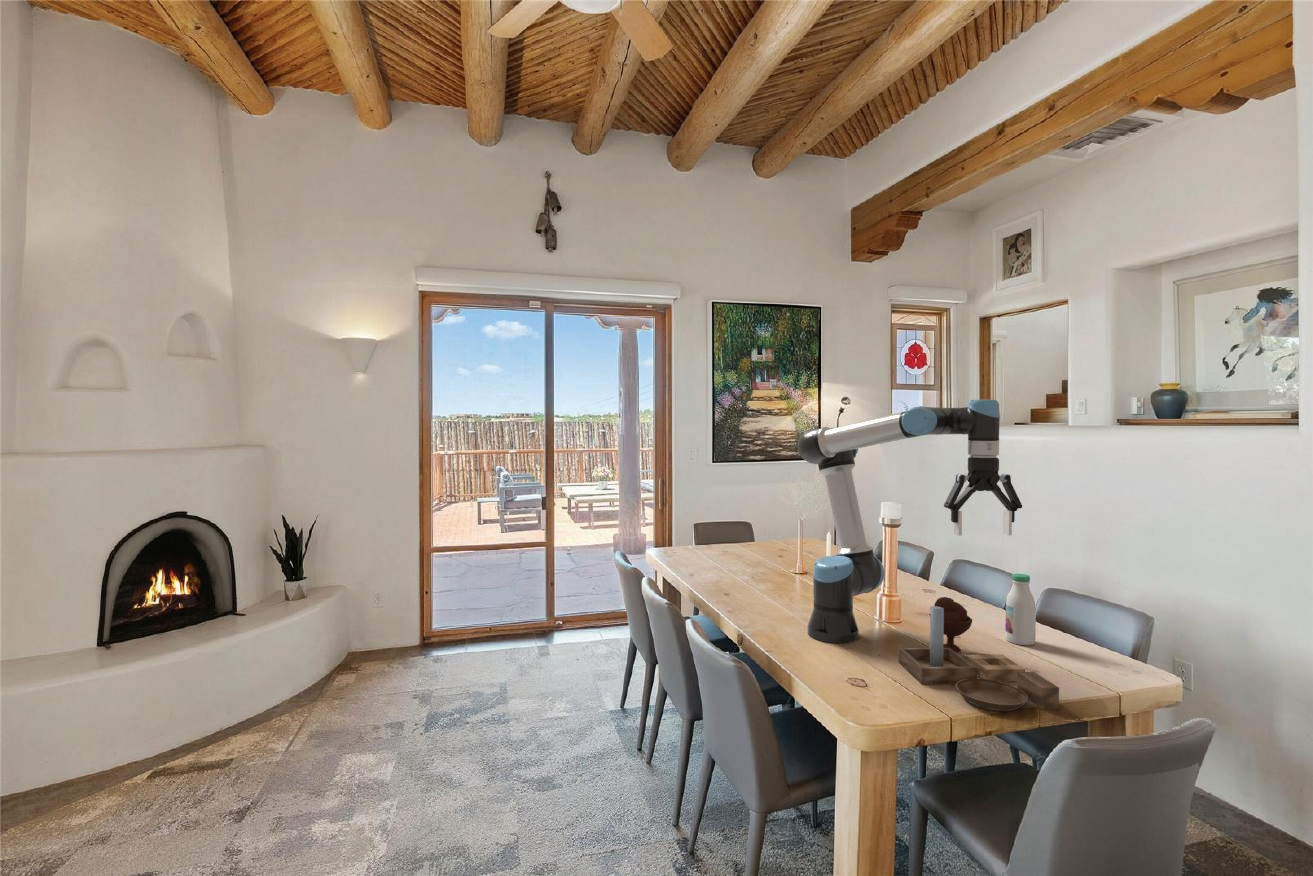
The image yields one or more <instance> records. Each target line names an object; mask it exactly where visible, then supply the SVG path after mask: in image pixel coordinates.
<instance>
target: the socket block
mask: <svg viewBox="0 0 1313 876" xmlns="http://www.w3.org/2000/svg"><path fill="white" fill-rule="evenodd" d="M964 659H966V660H967V661H969V662H970V663H971V664H973V665H974V666H975V667H977V668H978V672H977V677H980V679H987V680H994V681H998V682H1017V672H1026V668H1024V667H1023V666H1021V665H1019V664H1018V663H1017V662H1015V661H1014V660H1012V659H1010V658H1009V657H1007V656H1005V655H1004V654H965V656H964Z"/></svg>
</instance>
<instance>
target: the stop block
mask: <svg viewBox="0 0 1313 876" xmlns="http://www.w3.org/2000/svg"><path fill="white" fill-rule="evenodd" d="M1016 683H1017V684H1016V685H1017V687H1016V688H1018V689H1020V690H1022V691H1023V692H1024V693H1025V694H1026V695H1027V697H1028V700H1027V701H1029V702H1030V703H1032V704H1033V705H1034V706H1036V707H1037V708H1039V709H1040V711H1041V710H1059V709H1060V707H1059V706H1060V687H1058V686H1057V685H1056V684H1054V683H1053V682H1051V681H1049V680H1048V679H1046V678H1045V677H1043V676H1042V675H1040V674H1039V673H1037V672H1035V671H1025V672H1017V681H1016Z"/></svg>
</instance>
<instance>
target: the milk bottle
mask: <svg viewBox="0 0 1313 876" xmlns="http://www.w3.org/2000/svg"><path fill="white" fill-rule="evenodd" d="M1030 581H1031V577H1030V575H1028V574H1024V573H1018V572H1017V573H1013V574H1011V582H1012V584H1011V585H1012V586H1011V588H1010V591H1009V592H1008V594H1007V597H1006V600H1005V601H1006V602H1005V631H1004V633H1005V640H1006V641H1008V642H1009V643H1011V644H1014V645H1019V646H1033V645H1035V644H1036V630H1037V626H1036V623H1037V620H1036V619H1037V617H1036V616H1037V615H1036V612H1037V611H1036V610H1037V609H1036V608H1037V607H1036V601H1035V598H1034V596H1033V594H1032V591H1031V589H1030V583H1031V582H1030Z"/></svg>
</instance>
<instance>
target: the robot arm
mask: <svg viewBox="0 0 1313 876" xmlns="http://www.w3.org/2000/svg"><path fill="white" fill-rule="evenodd" d="M1000 418H1001V415H1000V403H999V402H998V400H996V399H970V400H969V401H968V405H967V406H966V407H965V406H964V407H931V406H919V405H918V406H915V407H910V408H908V409H907V410H905V411H901V412H896V413H893V414H888V415H887V414H886V415H884V416H880V417H876V418H872V419H866V420H863V421H858V422H854V423H850V424H846V425H842V426H839V427H838V426H837V427H833V428H832V427H831V428H830V427H829V426H823V427H819V428H817V427H815V428H811V429H808V430H806V431H804V432H803V433H802V434H801V435H800V437H799V439H798V441H797V442H798V443H797V449H798V454H799V455H800V456H801V458H802V459H803V460H804V461H806V462H807V463H809V464H813V465H817V467H818V471H819V473H821V474H822V475H823V476H824V477H825V482H826V487H827V492H828V498H829V503H830V507H831V512H832V518H833V523H834V528H835V533H836V539H837V542H838V550H837V551H836V553H835V555H831V556H830V555H826V556H823V557H820V558H817V560H815V562H814V564H813V572H812V576H813V577H812V578H813V609H812V612H811V615H810V618H809V620H808V622H807V623H808V624H807V635H808V636H810V637H811V638H812V639H815V640H818V641H821V642H825V643H833V644H834V643H835V644H845V643H852V642H855V641H857V640H858V639H859V638H860V637H859V636H860V632H859V630H860V629H859V625H858V623H857V620H856V617H855V614H854V609H853V607H854V597H855V596H856V597H857V596H859V595H864V594H869V593H871V592H873V591H874V590H875V591H876V589H878V588H879V587H881V585H882V584H883V581H884V577H885V568H884V565H883V563H882V560H880V559H878V557H877V556H876V555H875V554H874V549H873V548H872V547H871V546H870V545H868V543H867V541H866V535H865V530H864V526H863V521H862V516H861V511H860V506H859V501H858V496H857V491H856V486H855V482H854V476H853V469H854V467H855V466H856V463H855V458H856V457H857V454H858V452H859V449H862V448H867V447H872V446H876V445H881V444H882V445H883V444H885V443H886V444H887V443H891V442H896V441H901V440H905V439H911V438H918V437H922V436H930V435H931V436H933V435H934V436H935V435H937V436H938V435H967V455H968V458H967V471H968V472H967V474H966V475H965V474H961V473H958V474H956V475H955V482H954V484H953V486H952V487H951V489H950V492H949V494H948V496H947V498H946V500H945V502H944V504H943V507H944V508H946V509H948V510H950V517H951V518H950V521H951V523H953V534H954V535H956V536H961V537H962V533H963V523H962V522H963V511H961V508H962V507H963V506H964V505H965V503H966V502H968V499H970V498H971V496H972V495H973V494H974V493H976V492H977V491H978V492H991V493H993V495H994V496H995V497H996V498H997V500H998V501H1000V503H1001V504H1002V505H1003V507H1005V508H1006V509H1003V511H1002V512H1003V513H1002V535H1006V536H1012V529H1013V528H1012V524H1013V523H1015V518H1016V517H1015V515H1016V514H1015V512H1017V511H1018V510H1019V509H1022V508H1023V505H1022V501H1020V498H1019V496H1018V493H1017V492H1016V490H1015V488H1014V486H1013V483H1012V477H1011V475H1010V474H1007V473H1006V474H1005V473H1002V474H999V470H1000V459H999V457H998V456H999V455H1000V423H1001V422H1000ZM966 482H967V483H968V484H967V485H966V486H965V488H964V490H963V491H962V489H963V487H964V485H965V483H966ZM999 482H1000V483H1001V485H1002V487H1003V489H1004V491H1005V493H1006V494H1005V493H1004V491H1002V489H1001V487H1000V486H999V485H998V483H999ZM961 491H962V493H961ZM960 493H961V494H960Z"/></svg>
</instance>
